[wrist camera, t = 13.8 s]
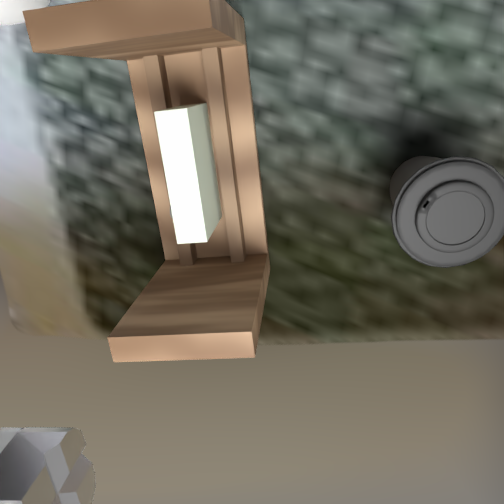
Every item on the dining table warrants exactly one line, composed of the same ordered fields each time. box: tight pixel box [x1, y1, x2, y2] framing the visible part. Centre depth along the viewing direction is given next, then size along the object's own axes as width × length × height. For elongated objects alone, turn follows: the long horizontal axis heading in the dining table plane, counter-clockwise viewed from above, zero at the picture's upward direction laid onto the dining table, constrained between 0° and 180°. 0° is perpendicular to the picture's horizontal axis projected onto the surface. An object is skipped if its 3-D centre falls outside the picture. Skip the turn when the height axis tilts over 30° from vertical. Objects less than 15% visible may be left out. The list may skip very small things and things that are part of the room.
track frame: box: [22, 0, 270, 362], centre depth 34 cm, size 22×10×15 cm, turn 6°
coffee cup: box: [389, 156, 504, 268], centre depth 35 cm, size 8×8×10 cm
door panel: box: [154, 103, 222, 244], centre depth 37 cm, size 10×3×7 cm, turn 6°
